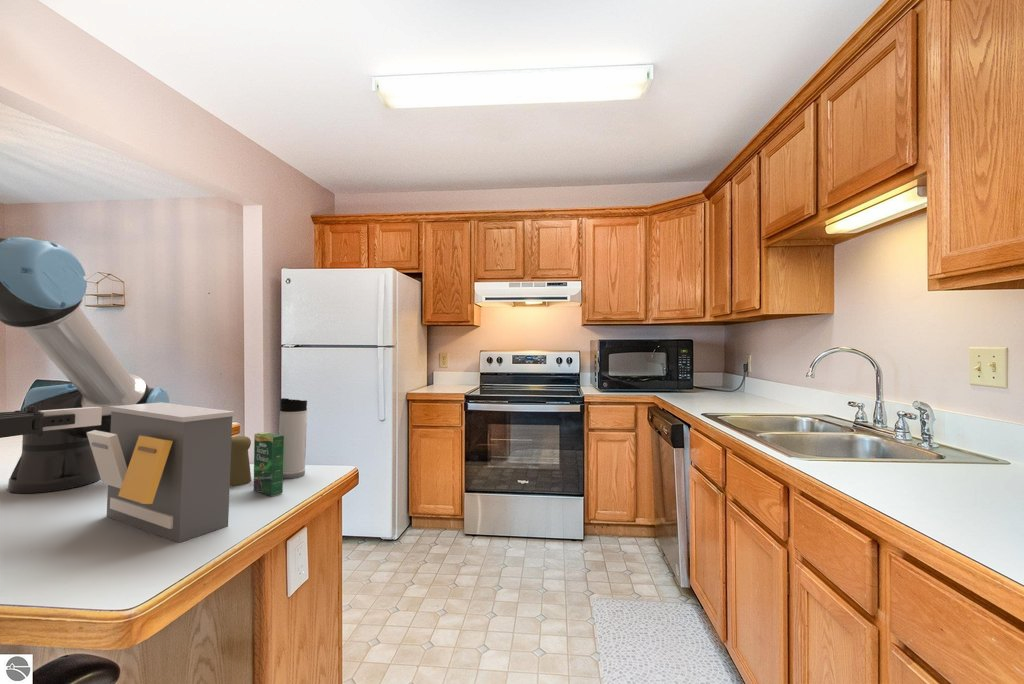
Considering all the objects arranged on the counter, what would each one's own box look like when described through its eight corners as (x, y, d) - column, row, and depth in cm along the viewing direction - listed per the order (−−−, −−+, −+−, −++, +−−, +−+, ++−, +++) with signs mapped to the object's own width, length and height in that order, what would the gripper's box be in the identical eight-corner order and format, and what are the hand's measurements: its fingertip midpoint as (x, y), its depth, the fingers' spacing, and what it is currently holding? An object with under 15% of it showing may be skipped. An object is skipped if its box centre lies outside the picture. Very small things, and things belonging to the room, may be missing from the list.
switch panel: (177, 544, 72) (182, 417, 72) (103, 516, 82) (108, 406, 83) (230, 525, 80) (235, 411, 80) (156, 503, 90) (161, 402, 91)
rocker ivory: (122, 490, 77) (106, 437, 75) (100, 483, 80) (84, 433, 78) (132, 486, 78) (117, 434, 76) (110, 479, 82) (94, 429, 79)
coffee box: (251, 490, 100) (253, 432, 100) (264, 487, 102) (266, 430, 103) (270, 497, 95) (272, 437, 96) (283, 493, 98) (285, 435, 98)
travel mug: (270, 477, 110) (273, 397, 110) (291, 471, 116) (294, 395, 117) (289, 480, 108) (292, 399, 108) (310, 473, 114) (312, 397, 114)
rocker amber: (142, 504, 69) (163, 440, 72) (116, 495, 73) (137, 435, 75) (152, 503, 71) (172, 441, 73) (126, 495, 74) (147, 436, 77)
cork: (215, 484, 103) (217, 437, 104) (238, 477, 109) (240, 433, 109) (235, 487, 102) (237, 439, 102) (257, 480, 107) (259, 435, 108)
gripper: (-205, 468, 48) (77, 436, 70) (-179, 485, 43) (119, 444, 64) (-199, 400, 49) (80, 389, 70) (-173, 408, 43) (122, 393, 64)
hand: (99, 415), depth 67 cm, fingers closed
